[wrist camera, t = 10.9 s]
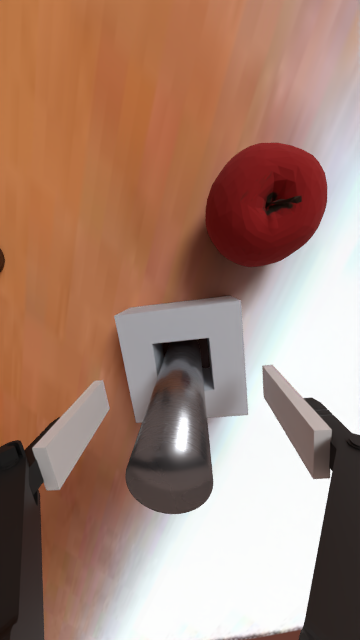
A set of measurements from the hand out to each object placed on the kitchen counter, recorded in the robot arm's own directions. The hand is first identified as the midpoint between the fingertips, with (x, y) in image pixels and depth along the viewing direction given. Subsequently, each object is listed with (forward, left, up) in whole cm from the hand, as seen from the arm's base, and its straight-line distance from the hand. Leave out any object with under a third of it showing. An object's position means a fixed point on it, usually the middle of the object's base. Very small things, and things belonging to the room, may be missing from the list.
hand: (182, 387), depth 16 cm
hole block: (0, 0, -9) cm, 9 cm away
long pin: (0, 0, -9) cm, 9 cm away
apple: (-13, +8, -9) cm, 18 cm away
